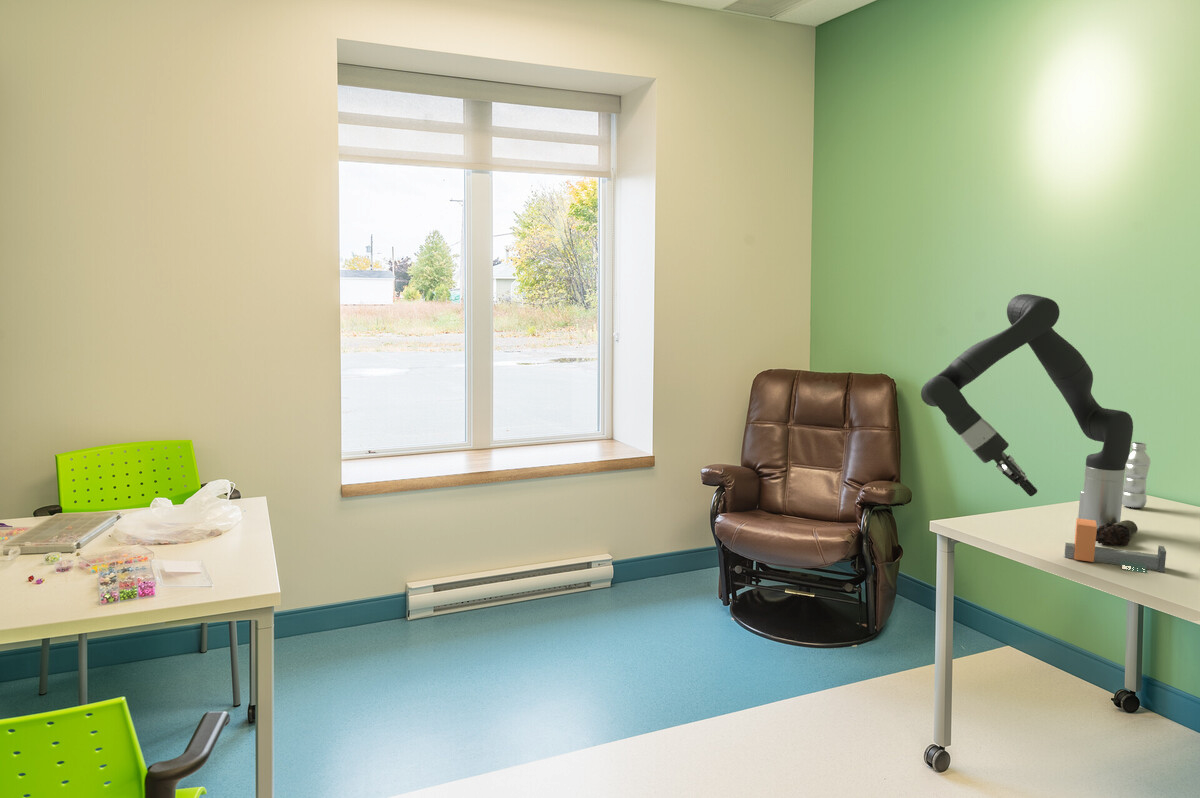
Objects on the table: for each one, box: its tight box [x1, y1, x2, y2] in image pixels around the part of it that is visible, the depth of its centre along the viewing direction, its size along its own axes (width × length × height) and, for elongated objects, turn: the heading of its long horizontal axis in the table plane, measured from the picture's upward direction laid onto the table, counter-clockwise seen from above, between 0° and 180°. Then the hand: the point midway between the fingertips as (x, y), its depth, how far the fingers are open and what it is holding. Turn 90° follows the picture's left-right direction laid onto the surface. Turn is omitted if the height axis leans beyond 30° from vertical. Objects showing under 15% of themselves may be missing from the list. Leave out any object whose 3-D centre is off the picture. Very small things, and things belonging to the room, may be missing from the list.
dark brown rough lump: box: [1096, 519, 1139, 547], centre depth 212 cm, size 18×7×6 cm, turn 128°
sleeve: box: [1073, 517, 1097, 563], centre depth 197 cm, size 4×7×9 cm, turn 151°
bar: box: [1064, 542, 1167, 574], centre depth 194 cm, size 20×10×5 cm, turn 61°
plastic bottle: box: [1122, 441, 1151, 509], centre depth 248 cm, size 6×7×20 cm
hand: (1034, 493), depth 201 cm, fingers closed
